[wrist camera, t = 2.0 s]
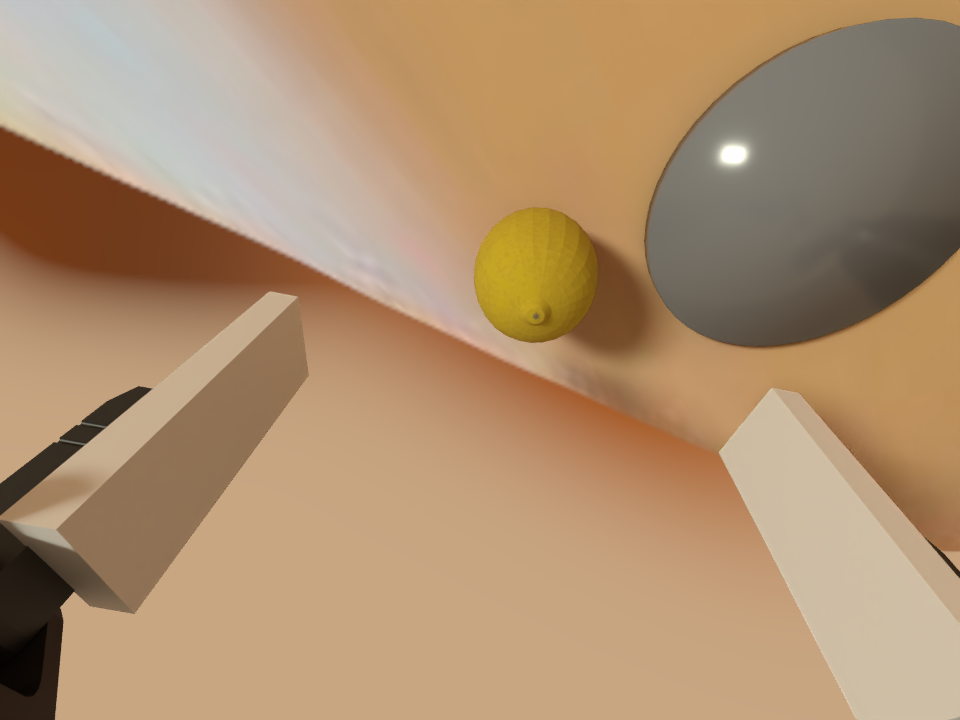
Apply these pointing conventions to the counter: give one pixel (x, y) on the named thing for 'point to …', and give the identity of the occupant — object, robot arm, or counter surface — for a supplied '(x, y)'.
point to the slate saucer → (814, 187)
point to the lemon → (536, 275)
